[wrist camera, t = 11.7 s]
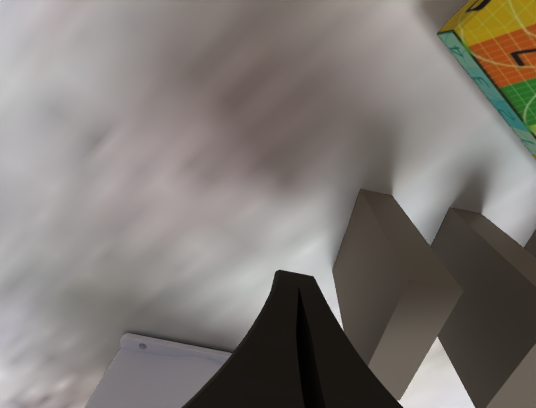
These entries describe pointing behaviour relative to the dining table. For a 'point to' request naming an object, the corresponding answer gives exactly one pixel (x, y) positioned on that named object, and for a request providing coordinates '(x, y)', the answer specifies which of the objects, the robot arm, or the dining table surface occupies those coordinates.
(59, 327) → the dining table surface
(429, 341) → the domino
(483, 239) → the domino
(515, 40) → the puzzle game
